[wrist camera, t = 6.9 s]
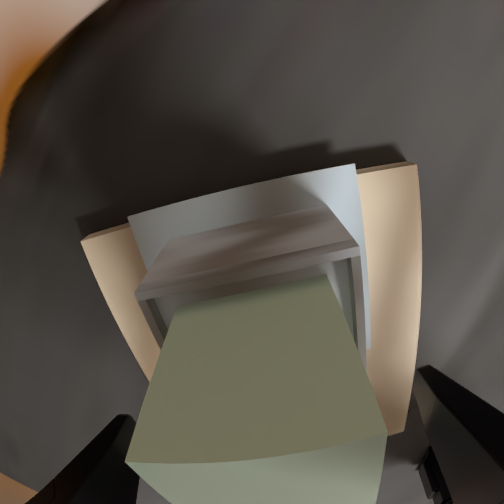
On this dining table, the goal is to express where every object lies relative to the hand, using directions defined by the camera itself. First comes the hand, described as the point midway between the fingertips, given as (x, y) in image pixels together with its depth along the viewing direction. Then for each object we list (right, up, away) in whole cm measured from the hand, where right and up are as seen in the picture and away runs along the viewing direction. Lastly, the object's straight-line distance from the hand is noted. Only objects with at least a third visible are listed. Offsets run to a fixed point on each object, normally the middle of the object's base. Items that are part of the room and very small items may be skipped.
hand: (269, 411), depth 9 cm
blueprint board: (+1, -2, +9) cm, 10 cm away
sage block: (0, +1, +3) cm, 3 cm away
